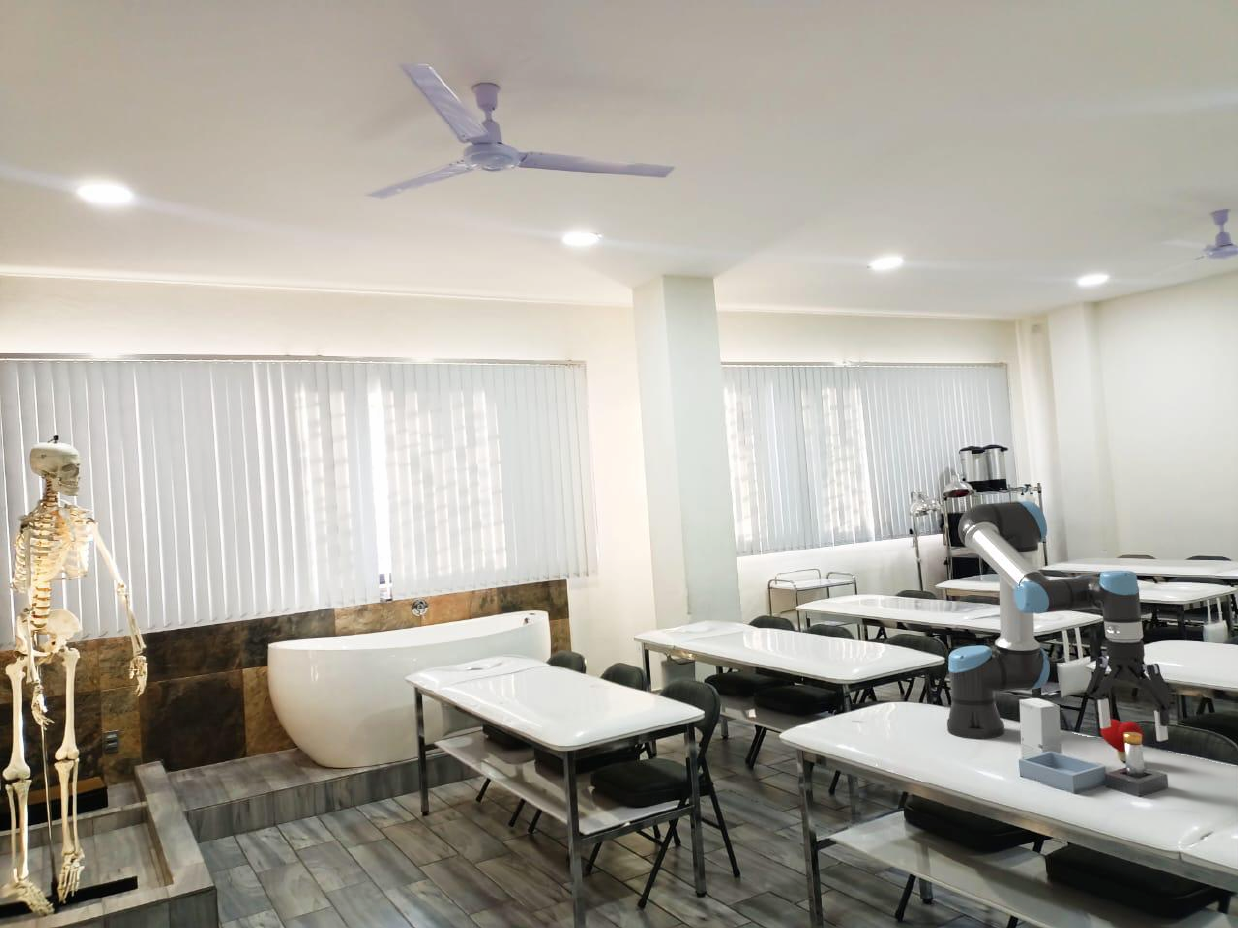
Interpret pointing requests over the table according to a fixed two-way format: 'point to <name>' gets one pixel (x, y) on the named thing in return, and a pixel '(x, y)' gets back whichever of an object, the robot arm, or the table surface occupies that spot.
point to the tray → (1062, 771)
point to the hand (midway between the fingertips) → (1133, 733)
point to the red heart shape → (1119, 735)
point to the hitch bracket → (1136, 782)
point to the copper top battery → (1134, 755)
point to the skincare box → (1039, 727)
